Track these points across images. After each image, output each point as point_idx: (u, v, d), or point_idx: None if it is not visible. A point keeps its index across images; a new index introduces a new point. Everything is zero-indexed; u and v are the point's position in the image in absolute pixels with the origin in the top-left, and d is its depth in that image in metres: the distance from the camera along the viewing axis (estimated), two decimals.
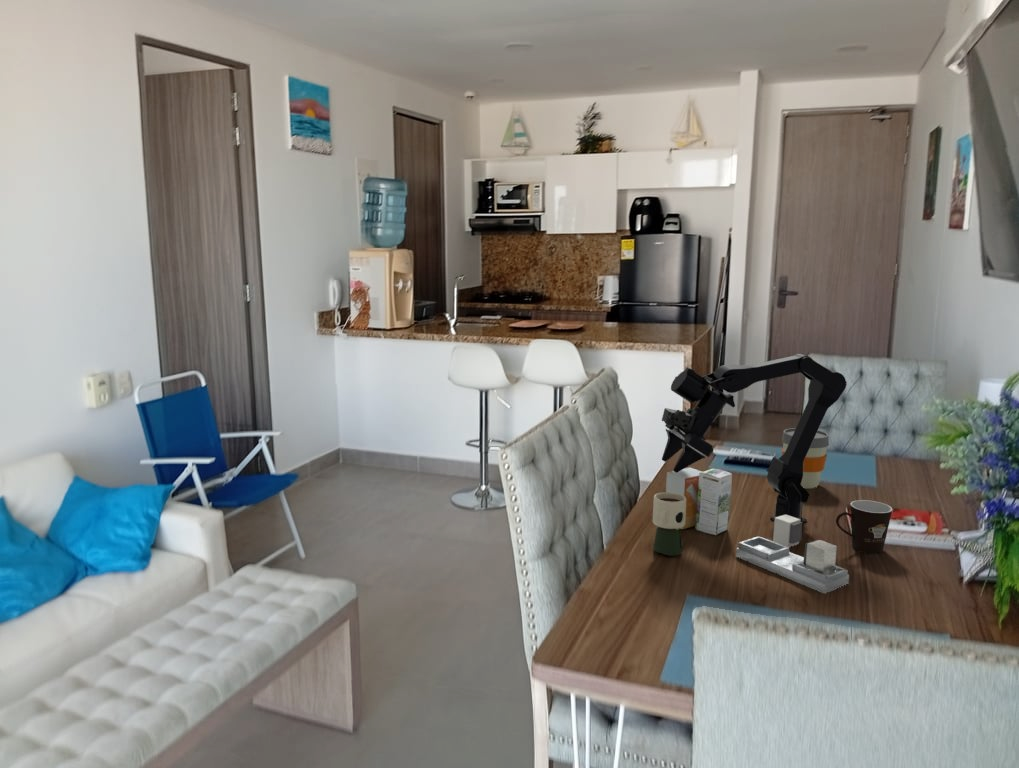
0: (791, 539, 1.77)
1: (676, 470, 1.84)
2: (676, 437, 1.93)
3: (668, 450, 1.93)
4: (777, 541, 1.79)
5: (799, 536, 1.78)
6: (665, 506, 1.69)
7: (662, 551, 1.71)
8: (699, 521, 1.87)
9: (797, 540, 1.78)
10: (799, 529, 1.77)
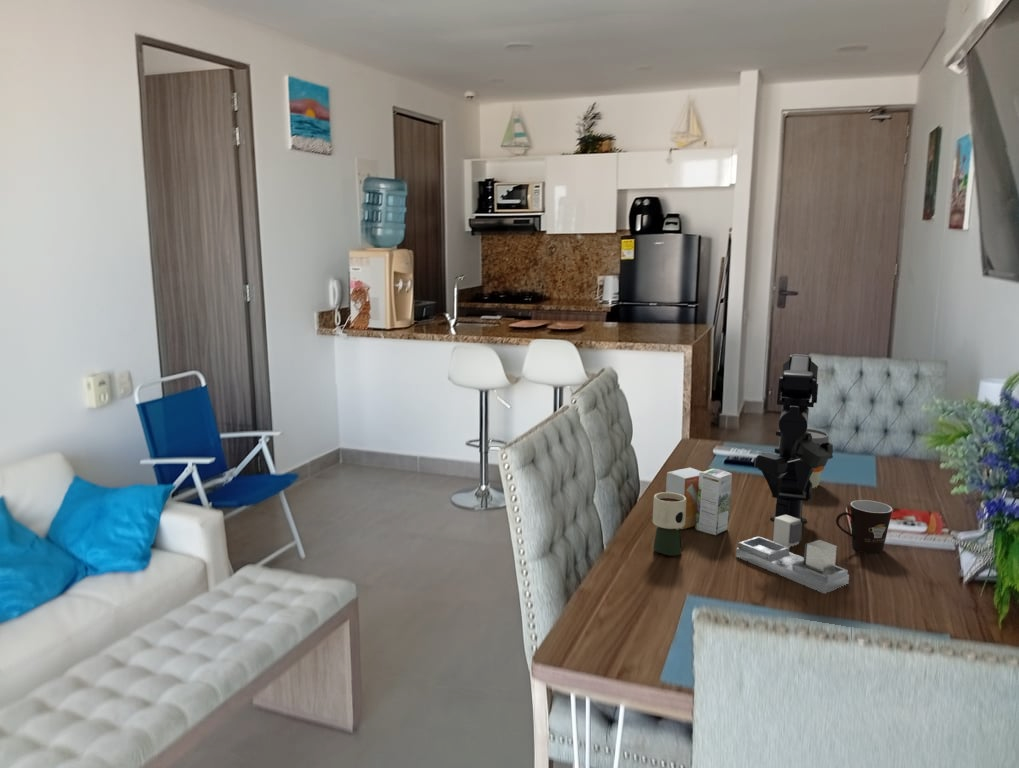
0: (791, 539, 1.77)
1: None
2: None
3: None
4: (777, 541, 1.79)
5: (799, 536, 1.78)
6: (665, 506, 1.69)
7: (662, 551, 1.71)
8: (699, 521, 1.87)
9: (797, 540, 1.78)
10: (799, 529, 1.77)
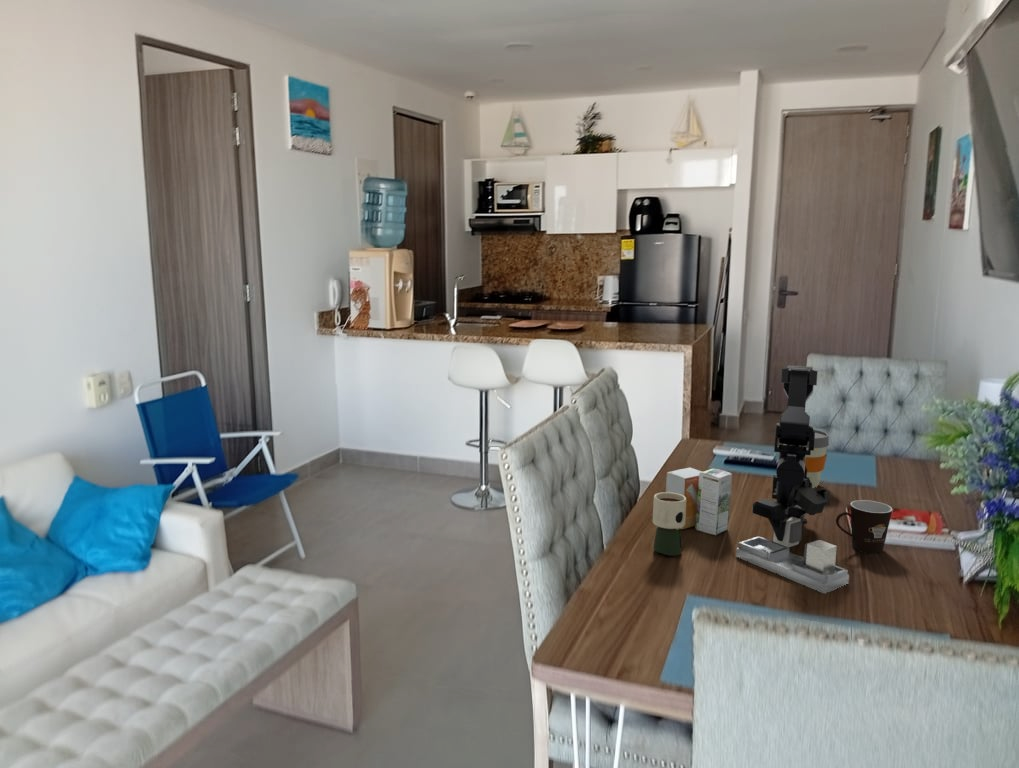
0: (791, 539, 1.77)
1: None
2: None
3: None
4: (777, 541, 1.79)
5: (799, 536, 1.78)
6: (665, 506, 1.69)
7: (662, 551, 1.71)
8: (699, 521, 1.87)
9: (797, 540, 1.78)
10: (799, 529, 1.77)
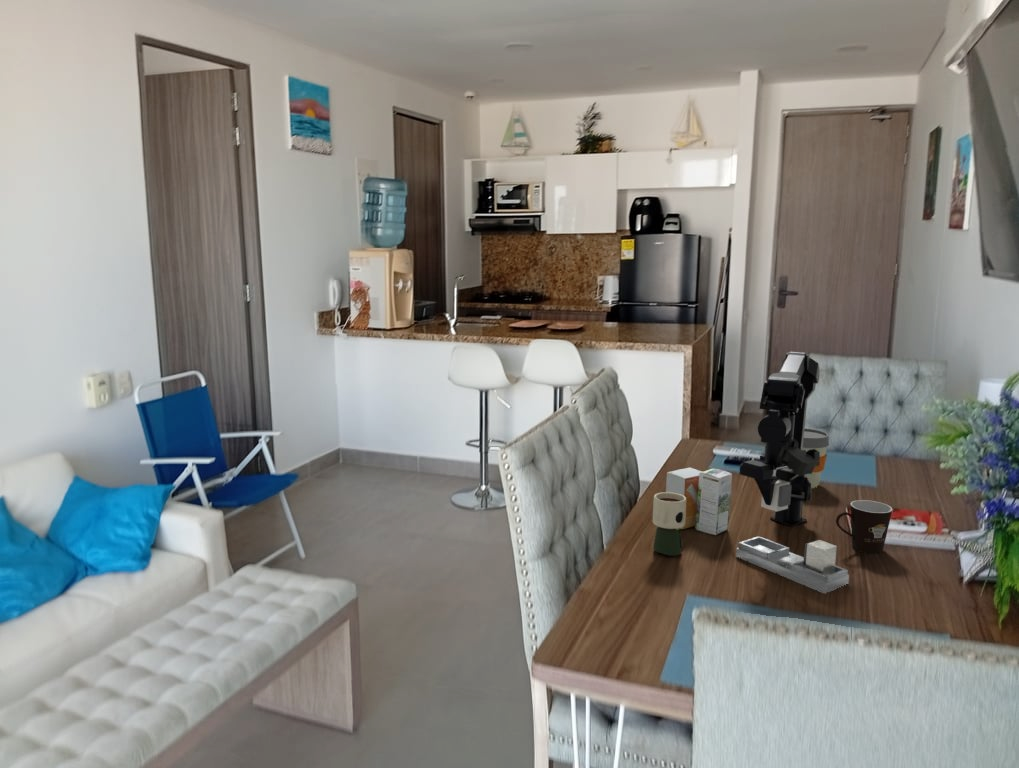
0: (780, 502, 1.69)
1: None
2: None
3: None
4: (765, 505, 1.71)
5: (788, 499, 1.70)
6: (665, 506, 1.69)
7: (662, 551, 1.71)
8: (699, 521, 1.87)
9: (786, 504, 1.70)
10: (788, 492, 1.69)
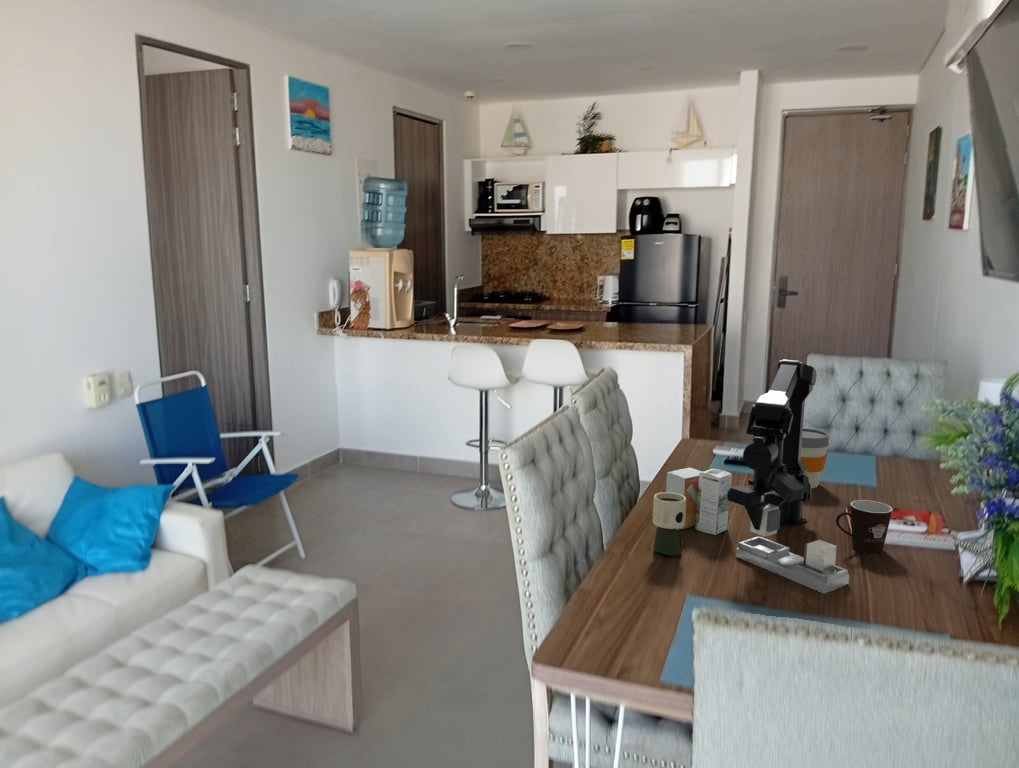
0: (768, 527, 1.67)
1: None
2: None
3: None
4: (754, 530, 1.70)
5: (777, 524, 1.68)
6: (665, 506, 1.69)
7: (662, 551, 1.71)
8: (699, 521, 1.87)
9: (775, 528, 1.68)
10: (777, 517, 1.67)
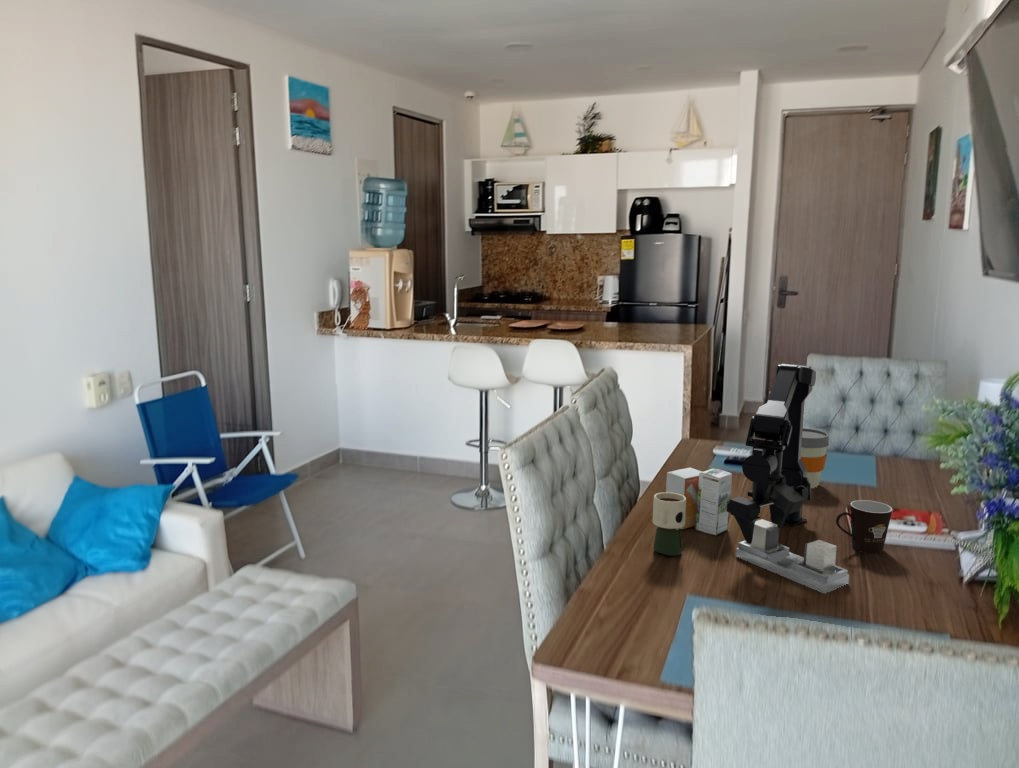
0: (767, 545, 1.68)
1: None
2: None
3: None
4: None
5: (776, 542, 1.69)
6: (665, 506, 1.69)
7: (662, 551, 1.71)
8: (699, 521, 1.87)
9: (773, 546, 1.68)
10: (776, 535, 1.68)
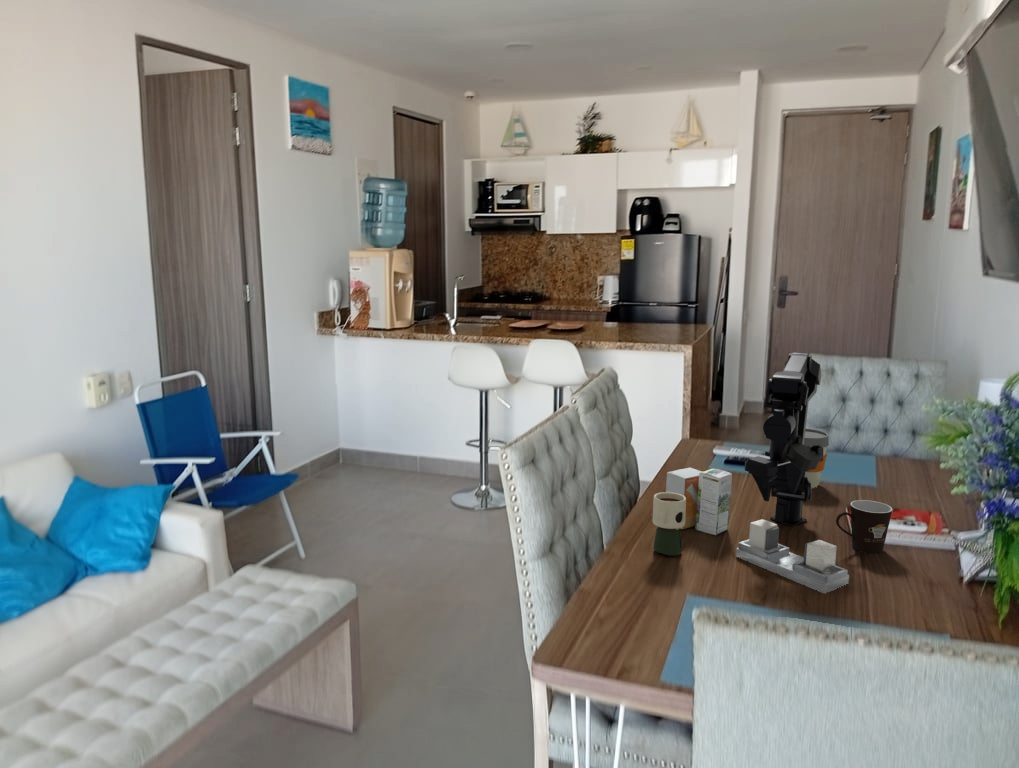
0: (767, 545, 1.68)
1: None
2: None
3: None
4: None
5: (776, 542, 1.69)
6: (665, 506, 1.69)
7: (662, 551, 1.71)
8: (699, 521, 1.87)
9: (773, 546, 1.68)
10: (776, 535, 1.68)
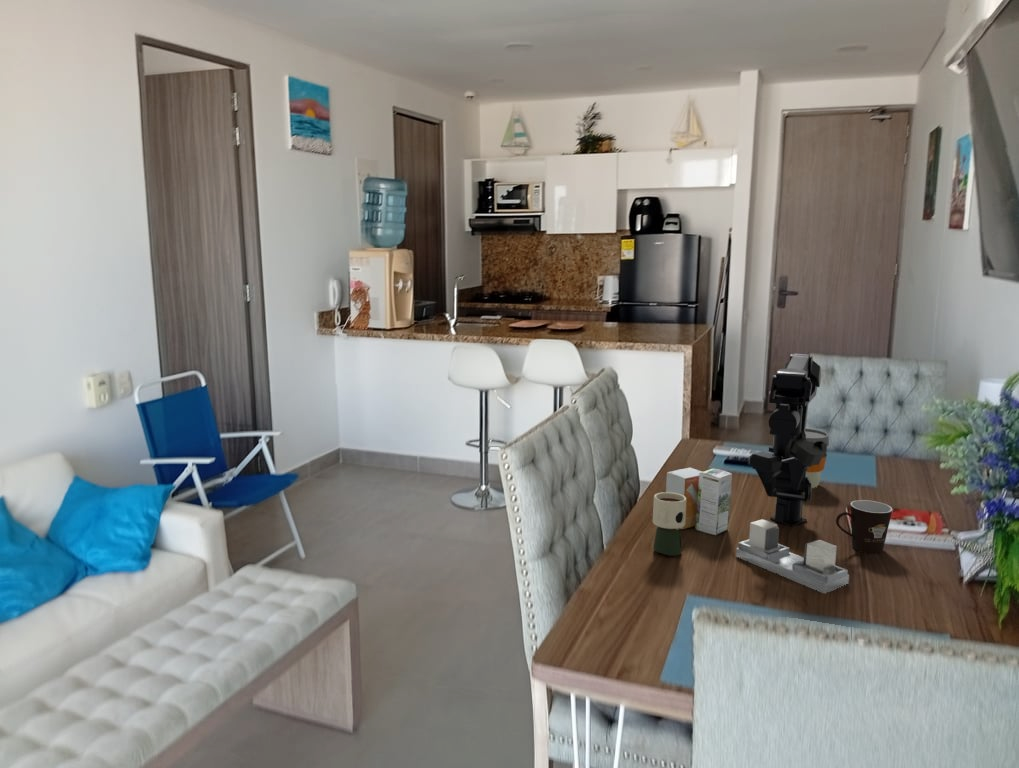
0: (767, 545, 1.68)
1: None
2: None
3: None
4: None
5: (776, 542, 1.69)
6: (665, 506, 1.69)
7: (662, 551, 1.71)
8: (699, 521, 1.87)
9: (773, 546, 1.68)
10: (776, 535, 1.68)
